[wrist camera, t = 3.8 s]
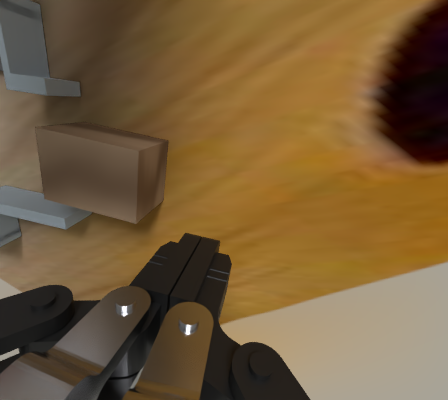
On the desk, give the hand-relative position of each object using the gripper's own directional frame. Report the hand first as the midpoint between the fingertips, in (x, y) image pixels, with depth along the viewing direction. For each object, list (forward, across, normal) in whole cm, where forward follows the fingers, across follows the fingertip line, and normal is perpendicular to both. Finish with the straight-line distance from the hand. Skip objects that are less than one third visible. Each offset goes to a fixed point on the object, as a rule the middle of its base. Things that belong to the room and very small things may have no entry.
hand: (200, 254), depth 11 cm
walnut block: (+9, +9, 0) cm, 13 cm away
